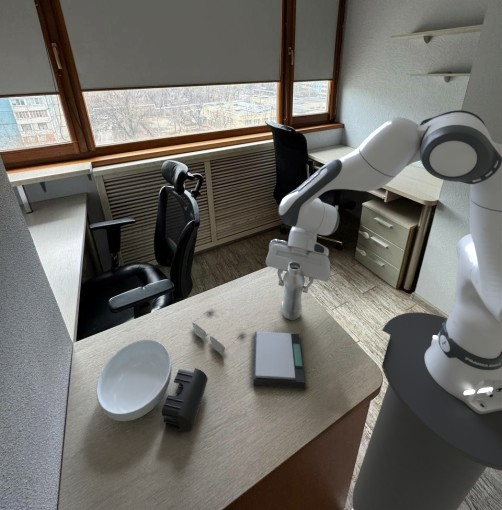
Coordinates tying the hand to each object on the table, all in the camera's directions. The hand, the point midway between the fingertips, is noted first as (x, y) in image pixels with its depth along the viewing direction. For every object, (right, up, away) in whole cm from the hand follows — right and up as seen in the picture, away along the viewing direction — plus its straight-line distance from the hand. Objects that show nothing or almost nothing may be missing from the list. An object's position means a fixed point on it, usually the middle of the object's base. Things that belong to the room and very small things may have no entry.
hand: (292, 289), depth 83 cm
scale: (-6, -16, -9) cm, 19 cm away
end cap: (-28, -20, -19) cm, 39 cm away
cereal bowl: (-41, -19, -15) cm, 48 cm away
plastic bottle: (0, -10, +5) cm, 12 cm away
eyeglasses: (-23, -13, -1) cm, 27 cm away
